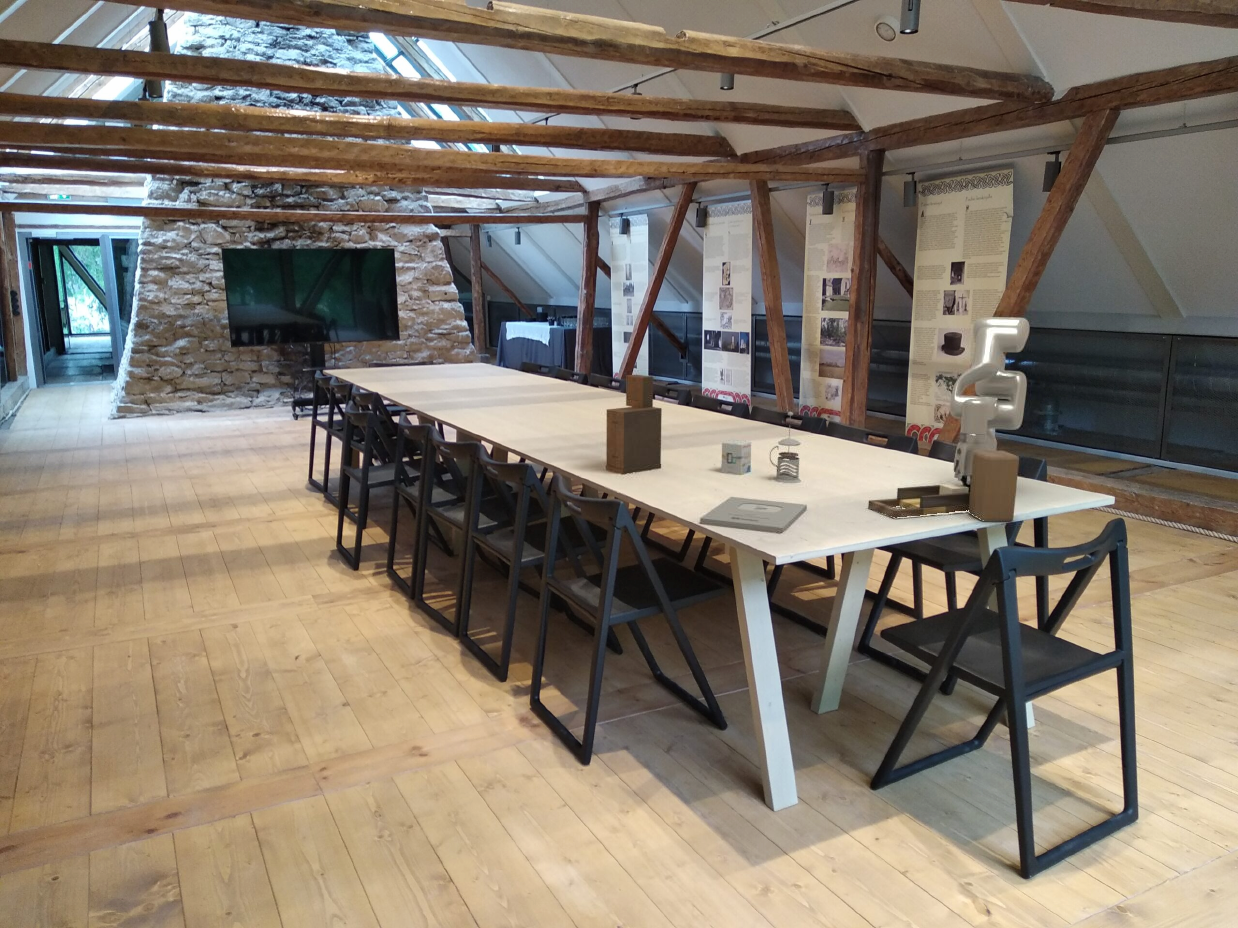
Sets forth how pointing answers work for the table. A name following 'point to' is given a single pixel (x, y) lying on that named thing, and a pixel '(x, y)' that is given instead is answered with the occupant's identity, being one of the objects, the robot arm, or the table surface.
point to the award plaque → (754, 514)
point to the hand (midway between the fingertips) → (967, 495)
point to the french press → (787, 461)
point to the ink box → (736, 457)
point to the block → (993, 485)
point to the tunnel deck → (921, 502)
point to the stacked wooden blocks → (634, 430)
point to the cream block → (952, 489)
